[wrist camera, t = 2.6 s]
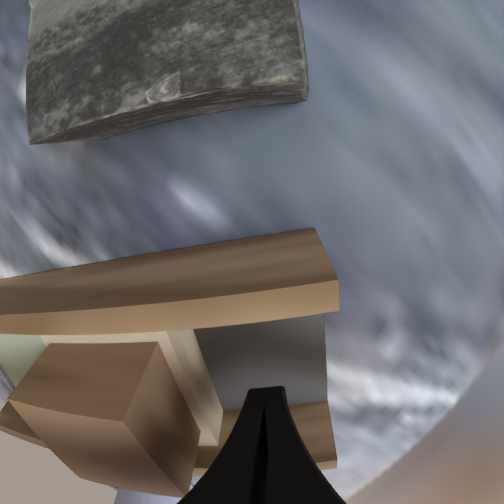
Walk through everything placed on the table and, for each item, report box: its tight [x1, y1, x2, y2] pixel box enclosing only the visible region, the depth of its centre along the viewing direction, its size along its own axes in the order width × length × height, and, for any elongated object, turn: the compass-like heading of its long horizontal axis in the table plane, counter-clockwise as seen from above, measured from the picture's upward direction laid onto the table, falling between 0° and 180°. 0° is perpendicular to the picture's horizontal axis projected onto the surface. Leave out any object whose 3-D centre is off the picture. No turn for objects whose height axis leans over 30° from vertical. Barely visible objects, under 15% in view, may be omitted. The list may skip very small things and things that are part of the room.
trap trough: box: [0, 228, 340, 476], centre depth 13 cm, size 11×25×4 cm, turn 100°
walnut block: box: [8, 341, 201, 498], centre depth 11 cm, size 6×6×4 cm
